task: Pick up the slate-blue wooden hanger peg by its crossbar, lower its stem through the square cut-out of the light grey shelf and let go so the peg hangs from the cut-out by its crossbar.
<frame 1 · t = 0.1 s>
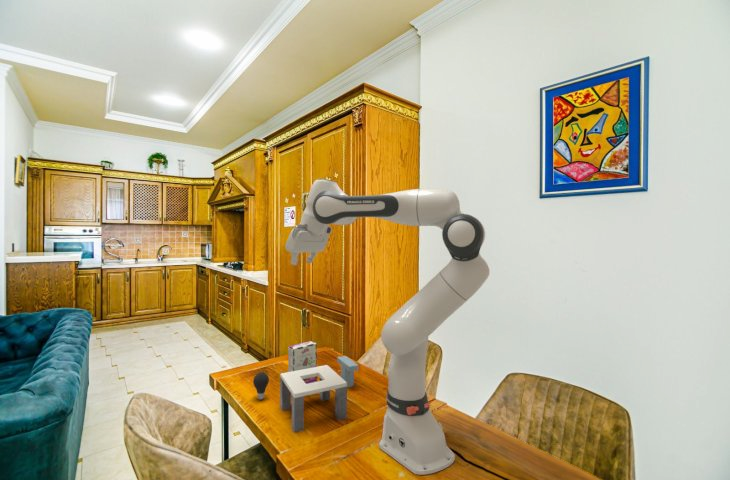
hand: (301, 263, 113), 52 cm above the table, tool tilted 20°, fingers open, 8 cm apart
candy bar box: (302, 384, 137), on the table
hanger peg: (347, 385, 136), on the table
light bulb: (261, 399, 123), on the table
cutout shelf: (312, 412, 114), on the table
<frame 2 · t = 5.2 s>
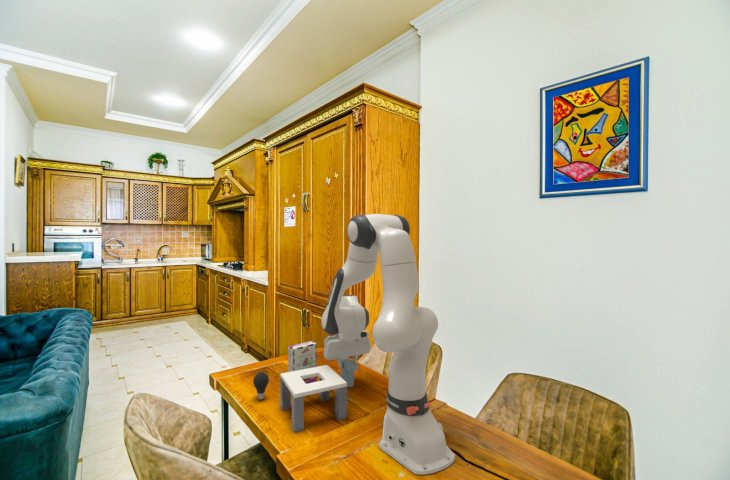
hand: (347, 366, 136), 8 cm above the table, tool pointing down, fingers closed on hanger peg, 4 cm apart
hanger peg: (347, 385, 136), on the table, touching gripper
everything else where it was.
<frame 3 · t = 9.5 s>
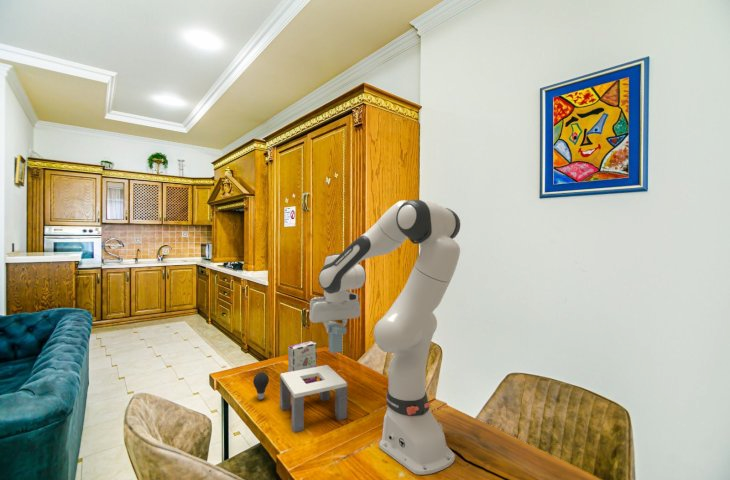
hand: (335, 331, 127), 25 cm above the table, tool pointing down, fingers closed on hanger peg, 4 cm apart
hanger peg: (335, 351, 127), point 17 cm above the table, touching gripper
everything else where it was.
when the fingers open (13 cm above the table, at t = 13.9 s): hanger peg drops 1 cm, resting on cutout shelf.
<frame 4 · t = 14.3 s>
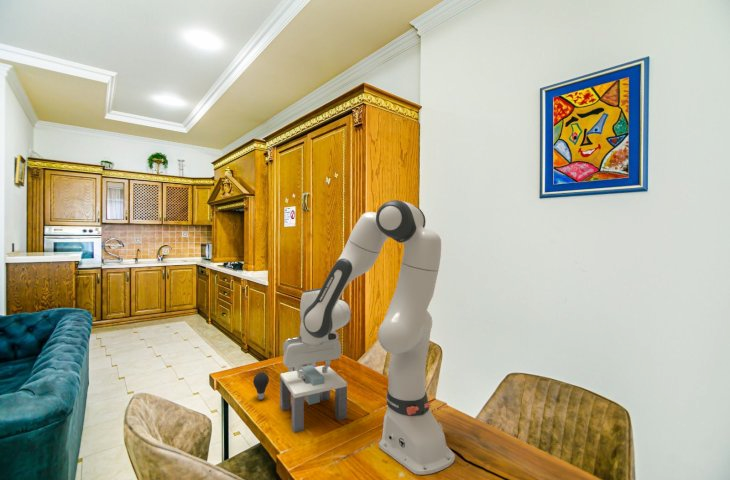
hand: (312, 374, 114), 13 cm above the table, tool pointing down, fingers open, 8 cm apart
hanger peg: (312, 400, 114), point 4 cm above the table, touching cutout shelf
everything else where it was.
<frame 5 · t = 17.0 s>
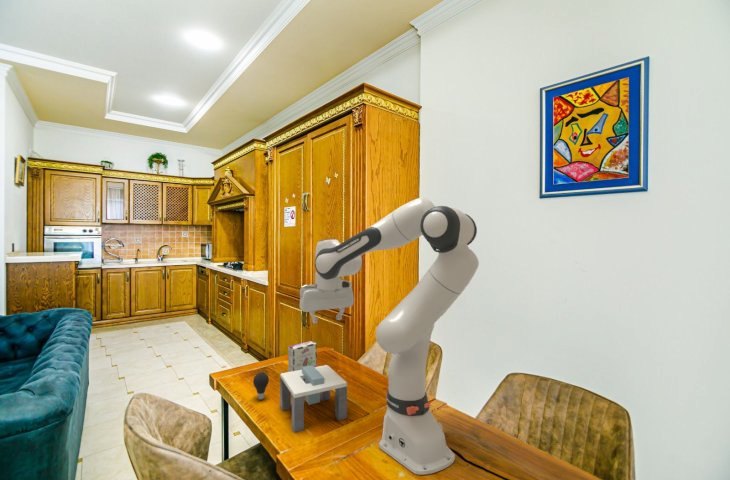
hand: (327, 321, 120), 30 cm above the table, tool pointing down, fingers open, 8 cm apart
nothing on the table moved.
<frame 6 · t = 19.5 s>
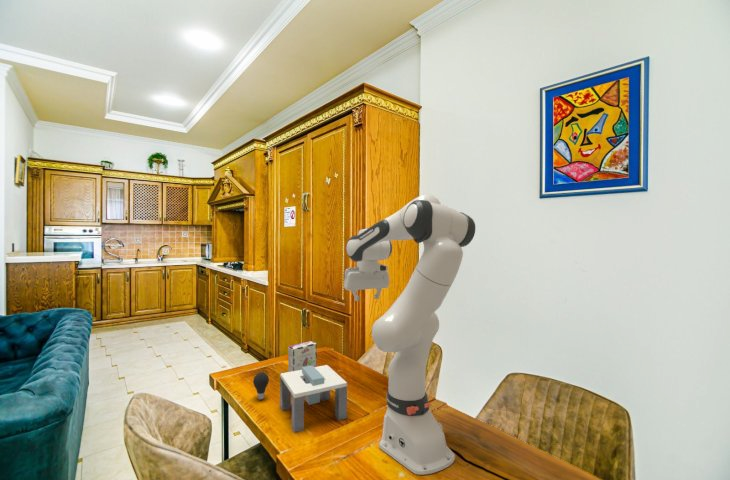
hand: (366, 299, 138), 35 cm above the table, tool pointing down, fingers open, 8 cm apart
nothing on the table moved.
at the end: hanger peg 0.0 cm off-centre on the cutout shelf, point 4.0 cm above the cutout shelf's base; hanger peg touching cutout shelf; hanger peg tilted 0° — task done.
